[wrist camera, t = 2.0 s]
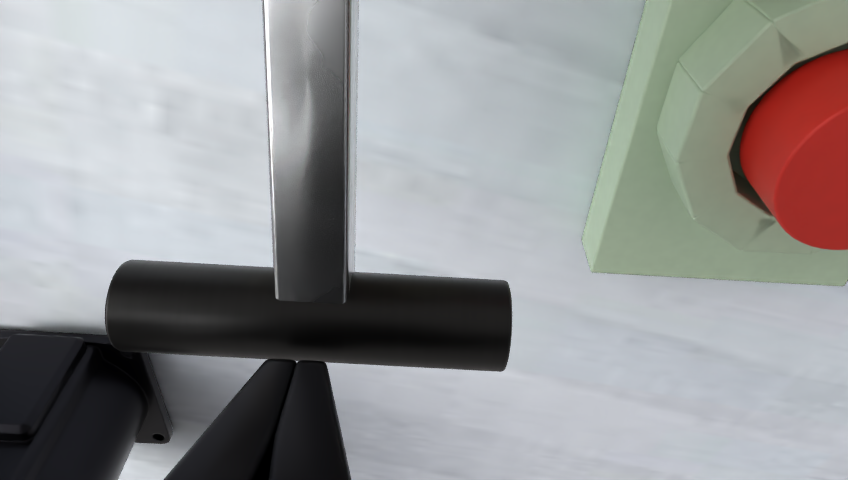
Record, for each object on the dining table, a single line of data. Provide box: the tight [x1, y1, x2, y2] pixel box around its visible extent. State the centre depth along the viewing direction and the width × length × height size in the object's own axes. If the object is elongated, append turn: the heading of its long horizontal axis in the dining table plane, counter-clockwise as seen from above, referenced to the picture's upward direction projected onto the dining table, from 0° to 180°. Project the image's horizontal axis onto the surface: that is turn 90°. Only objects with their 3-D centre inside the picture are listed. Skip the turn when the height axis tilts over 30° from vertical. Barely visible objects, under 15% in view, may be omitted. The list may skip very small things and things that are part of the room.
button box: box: [582, 0, 848, 286], centre depth 15 cm, size 12×8×4 cm, turn 177°
